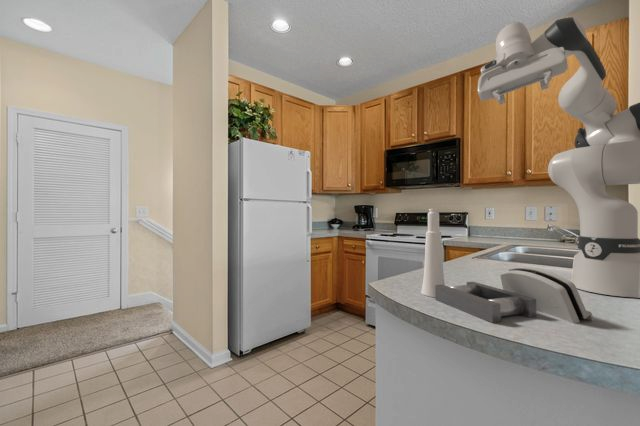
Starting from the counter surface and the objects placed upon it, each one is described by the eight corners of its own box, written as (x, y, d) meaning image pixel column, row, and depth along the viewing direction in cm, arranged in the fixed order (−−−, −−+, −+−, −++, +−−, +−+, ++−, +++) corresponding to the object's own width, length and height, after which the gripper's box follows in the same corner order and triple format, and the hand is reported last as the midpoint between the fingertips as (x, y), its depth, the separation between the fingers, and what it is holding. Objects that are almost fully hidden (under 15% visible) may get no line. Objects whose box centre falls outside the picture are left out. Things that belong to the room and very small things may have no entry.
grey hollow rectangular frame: (473, 295, 75) (473, 281, 75) (536, 316, 60) (536, 299, 60) (435, 299, 72) (435, 285, 72) (492, 323, 57) (492, 304, 57)
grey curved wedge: (596, 321, 57) (581, 273, 57) (577, 331, 56) (562, 283, 56) (521, 297, 74) (509, 259, 73) (506, 304, 73) (494, 266, 72)
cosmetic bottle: (449, 298, 73) (449, 208, 73) (424, 297, 74) (424, 208, 74) (442, 291, 79) (442, 208, 79) (418, 290, 80) (418, 208, 80)
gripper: (563, 54, 80) (574, 87, 74) (480, 86, 93) (483, 117, 86) (561, 34, 76) (573, 66, 70) (474, 70, 89) (477, 101, 82)
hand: (522, 94), depth 78 cm, fingers open, 8 cm apart
